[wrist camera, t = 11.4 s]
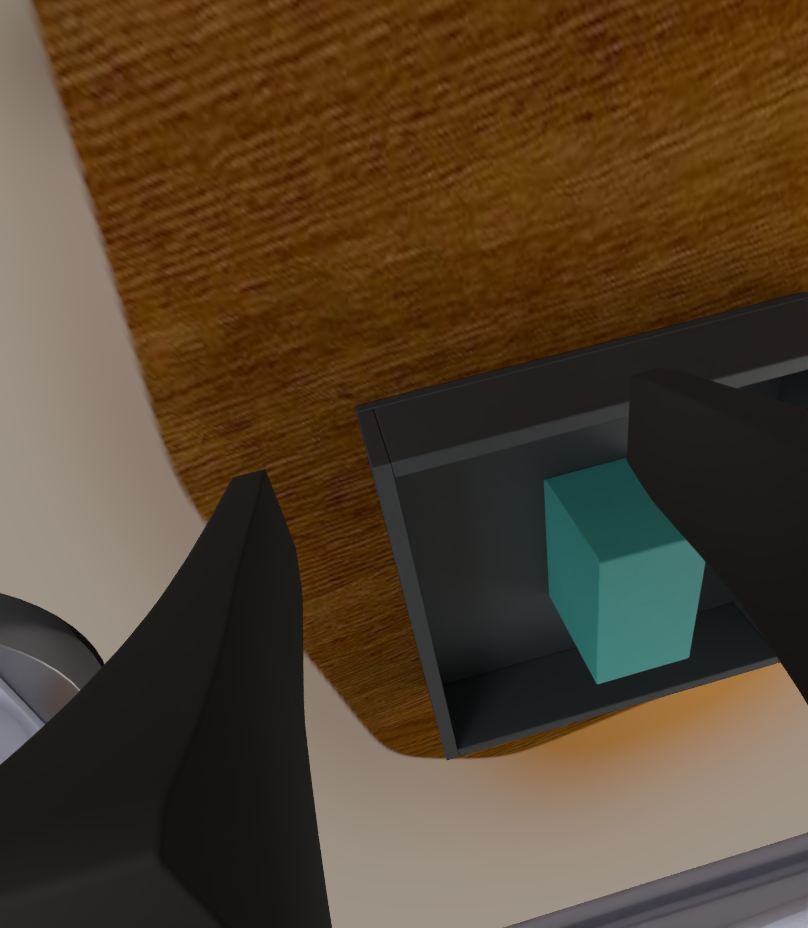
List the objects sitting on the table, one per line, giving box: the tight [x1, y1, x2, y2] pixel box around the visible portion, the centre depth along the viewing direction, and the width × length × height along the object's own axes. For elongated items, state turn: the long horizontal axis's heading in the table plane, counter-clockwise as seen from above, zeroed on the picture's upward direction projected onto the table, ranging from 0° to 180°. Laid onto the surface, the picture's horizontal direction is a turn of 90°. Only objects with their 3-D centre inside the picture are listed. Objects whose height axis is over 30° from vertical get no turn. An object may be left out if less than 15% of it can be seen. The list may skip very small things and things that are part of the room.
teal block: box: [544, 458, 705, 684], centre depth 24 cm, size 4×7×5 cm, turn 10°
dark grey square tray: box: [355, 292, 808, 760], centre depth 25 cm, size 17×17×4 cm
